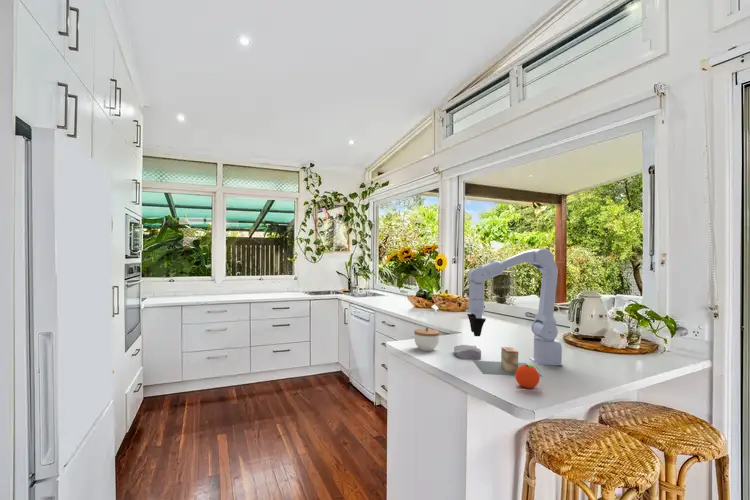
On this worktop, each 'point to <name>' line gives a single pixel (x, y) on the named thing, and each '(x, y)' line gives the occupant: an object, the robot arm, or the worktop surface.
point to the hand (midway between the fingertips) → (475, 334)
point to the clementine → (527, 376)
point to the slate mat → (495, 368)
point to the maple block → (509, 359)
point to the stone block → (467, 352)
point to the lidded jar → (426, 339)
